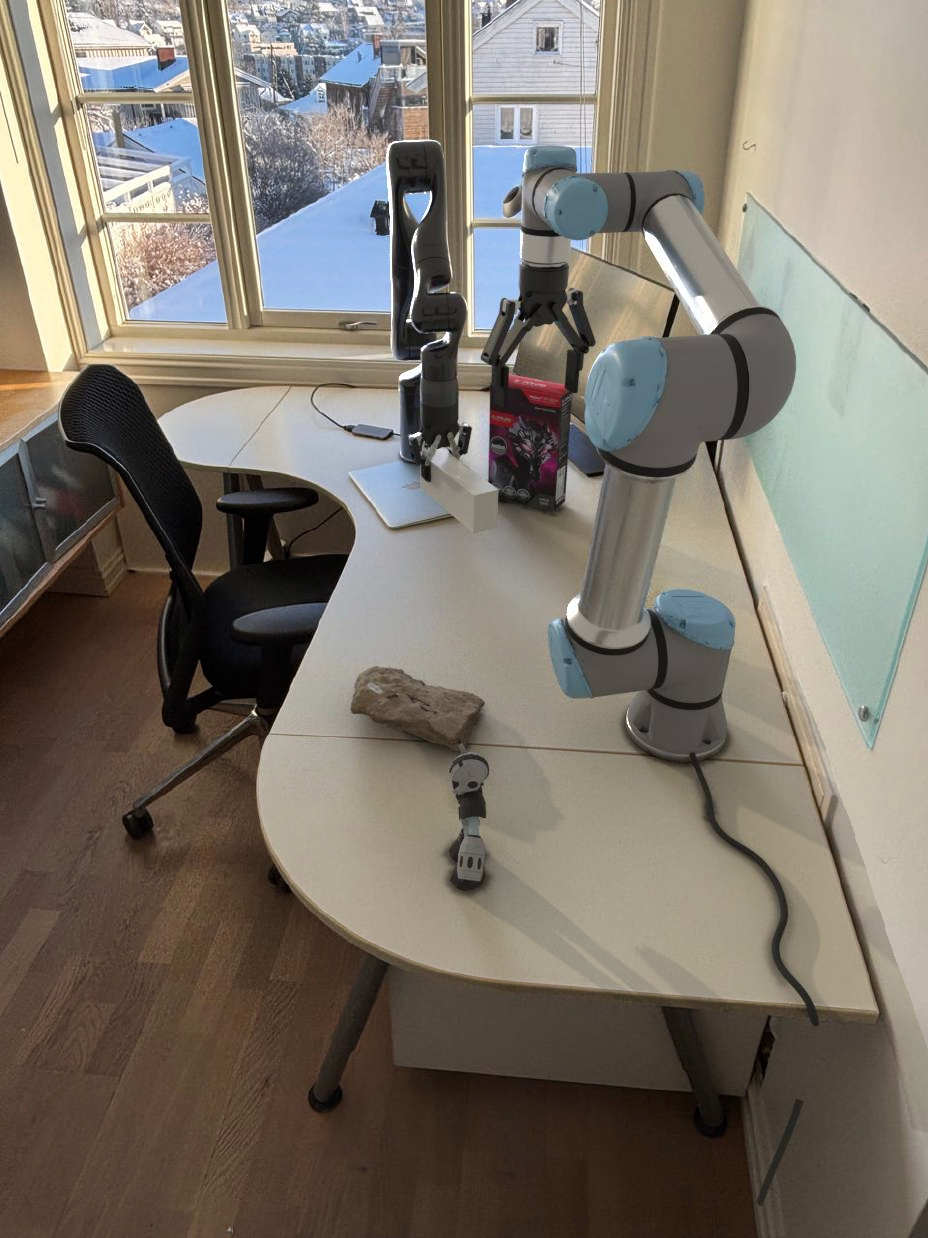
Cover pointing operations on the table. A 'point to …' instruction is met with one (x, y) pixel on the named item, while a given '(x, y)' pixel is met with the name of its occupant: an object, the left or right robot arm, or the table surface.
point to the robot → (469, 818)
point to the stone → (416, 706)
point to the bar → (462, 492)
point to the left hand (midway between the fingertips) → (439, 477)
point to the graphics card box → (530, 443)
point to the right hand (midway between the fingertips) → (536, 397)
